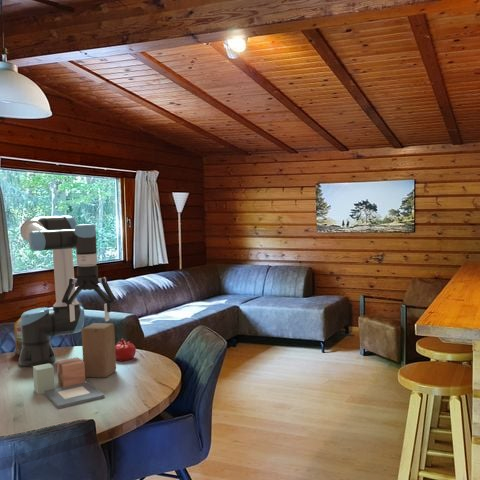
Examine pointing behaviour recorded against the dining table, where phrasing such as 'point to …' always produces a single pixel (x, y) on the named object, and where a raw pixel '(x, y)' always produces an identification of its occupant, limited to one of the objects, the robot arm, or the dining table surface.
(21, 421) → the dining table surface
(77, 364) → the terracotta block
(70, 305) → the robot arm
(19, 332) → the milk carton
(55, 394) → the board
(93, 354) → the wooden block
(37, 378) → the sage block
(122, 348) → the pomegranate
